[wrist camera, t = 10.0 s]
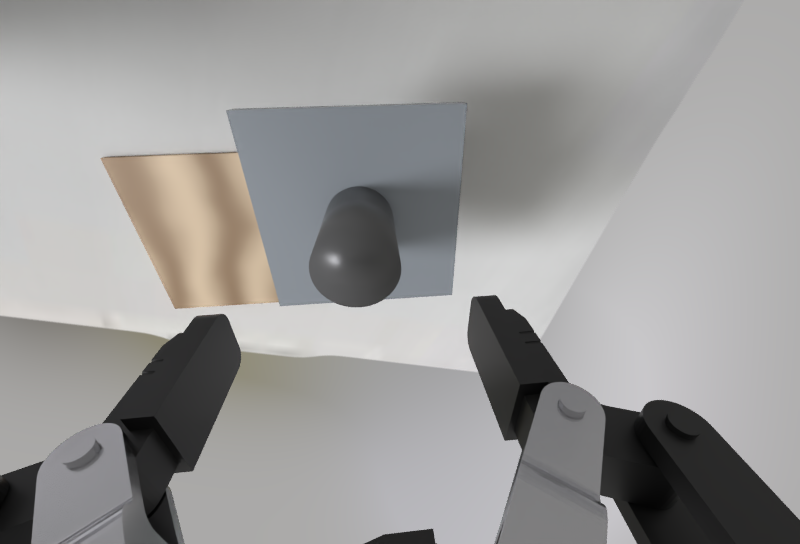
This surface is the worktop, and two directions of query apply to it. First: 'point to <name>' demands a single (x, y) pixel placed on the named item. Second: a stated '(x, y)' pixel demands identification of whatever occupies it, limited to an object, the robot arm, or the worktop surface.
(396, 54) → the worktop surface
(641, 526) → the robot arm
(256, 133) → the lid
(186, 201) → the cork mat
